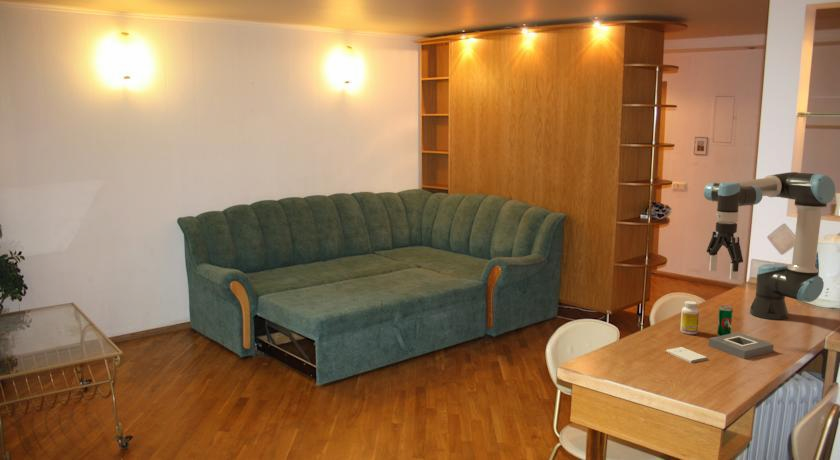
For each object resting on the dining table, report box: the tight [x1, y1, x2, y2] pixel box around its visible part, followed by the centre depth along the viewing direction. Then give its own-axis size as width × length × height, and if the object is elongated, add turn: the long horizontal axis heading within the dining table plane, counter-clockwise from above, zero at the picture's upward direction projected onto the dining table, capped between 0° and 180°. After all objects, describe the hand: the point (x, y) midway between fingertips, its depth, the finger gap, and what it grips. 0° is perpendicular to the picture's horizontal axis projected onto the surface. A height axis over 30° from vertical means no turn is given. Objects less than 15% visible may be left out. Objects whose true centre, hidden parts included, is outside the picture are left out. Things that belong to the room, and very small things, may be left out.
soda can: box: [716, 304, 733, 336], centre depth 268 cm, size 5×5×12 cm
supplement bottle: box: [680, 300, 700, 335], centre depth 272 cm, size 7×7×13 cm
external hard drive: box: [665, 346, 709, 364], centre depth 247 cm, size 2×8×12 cm
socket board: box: [708, 331, 775, 360], centre depth 253 cm, size 16×16×3 cm
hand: (722, 275), depth 259 cm, fingers open, 13 cm apart
